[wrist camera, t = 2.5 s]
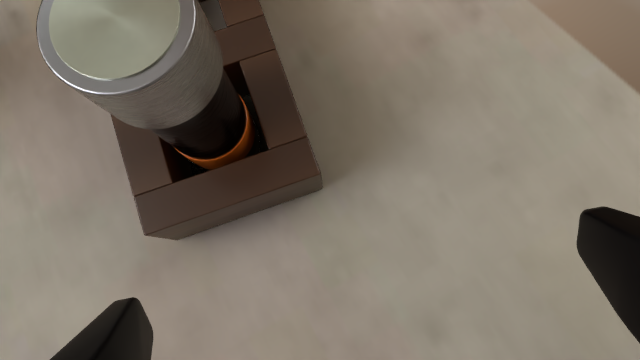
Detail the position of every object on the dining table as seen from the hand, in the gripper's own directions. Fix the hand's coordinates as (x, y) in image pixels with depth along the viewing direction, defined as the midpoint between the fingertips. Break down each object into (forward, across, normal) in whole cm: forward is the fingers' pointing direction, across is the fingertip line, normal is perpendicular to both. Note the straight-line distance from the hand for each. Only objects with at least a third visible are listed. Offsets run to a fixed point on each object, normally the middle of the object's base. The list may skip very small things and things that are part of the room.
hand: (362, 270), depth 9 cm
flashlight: (+15, +5, +3) cm, 16 cm away
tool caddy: (+17, +5, 0) cm, 18 cm away
